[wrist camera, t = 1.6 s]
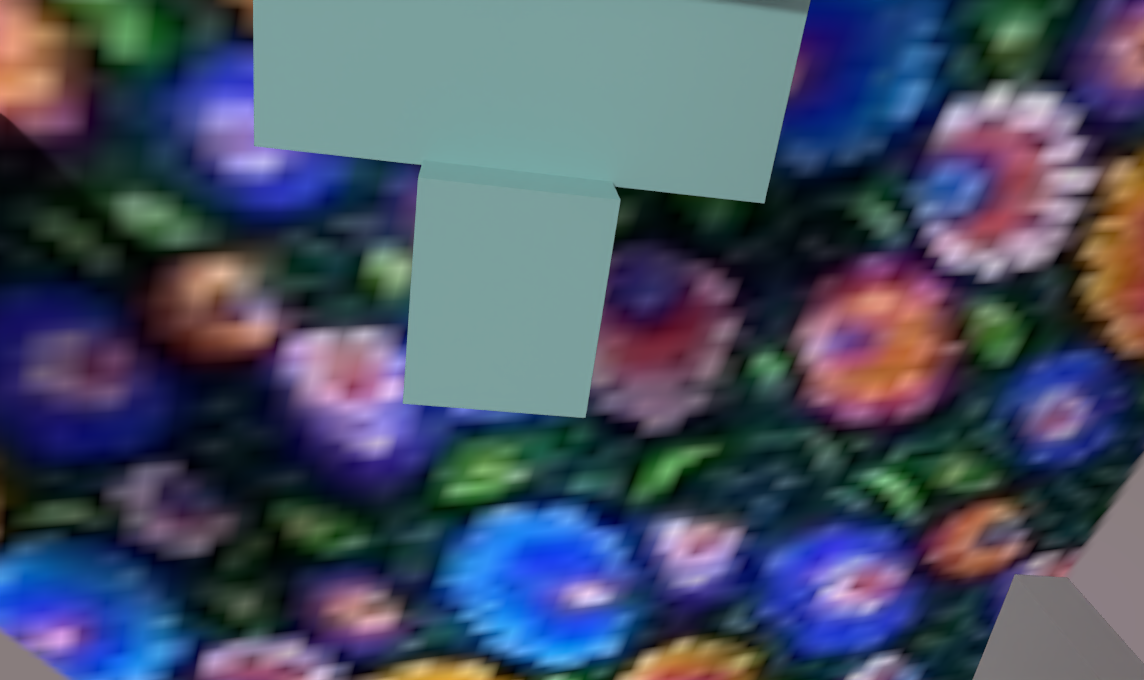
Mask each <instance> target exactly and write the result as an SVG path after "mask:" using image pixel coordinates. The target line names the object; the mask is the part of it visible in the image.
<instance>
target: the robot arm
mask: <svg viewBox="0 0 1144 680" xmlns="http://www.w3.org/2000/svg"><path fill="white" fill-rule="evenodd" d="M973 680H1144V664H1143V662H1142V661H1141V660H1140V659H1139V658H1138V657H1137V656H1136V655H1135V653H1134V652H1133V651H1132V650H1131V649H1130V648H1129V647H1128V646H1127V645H1126V643H1125V642H1124V641H1123V640H1122V639H1121V638H1120V637H1119V635H1118V634H1117V633H1116V632H1115V631H1114V630H1113V629H1112V628H1111V626H1110V625H1109V624H1108V623H1107V622H1106V621H1105V620H1104V618H1103V617H1102V616H1101V615H1100V614H1099V613H1098V612H1097V610H1096V609H1095V608H1094V607H1093V606H1092V605H1091V604H1090V603H1089V602H1088V601H1087V599H1086V598H1085V597H1084V596H1083V595H1082V593H1081V592H1080V591H1079V590H1078V589H1077V588H1076V587H1075V586H1074V585H1073V583H1071V581H1070V580H1069V579H1068V578H1064V577H1049V576H1033V575H1017V574H1015V576H1014V578H1013V581H1012V583H1011V586H1010V588H1009V591H1008V593H1007V596H1006V598H1005V601H1004V603H1003V606H1002V608H1001V611H1000V613H999V615H998V618H997V620H996V623H995V625H994V628H993V630H992V633H991V635H990V638H989V640H988V643H987V645H986V648H985V650H984V653H983V655H982V658H981V660H980V663H979V665H978V668H977V670H976V673H975V675H974V678H973Z"/></svg>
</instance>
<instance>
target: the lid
mask: <svg viewBox="0 0 1144 680" xmlns="http://www.w3.org/2000/svg"><path fill="white" fill-rule="evenodd" d="M809 5H810V0H253V34H254V146H258V147H267V148H276V149H285V150H294V151H303V152H312V153H320V154H329V155H338V156H347V157H356V158H365V159H374V160H383V161H392V162H400V163H409V164H418V165H422V166H421V169H420V173H419V177H418V188H417V203H416V218H415V232H414V247H413V262H412V277H411V292H410V306H409V321H408V336H407V351H406V366H405V380H404V395H403V404H416V405H428V406H441V407H454V408H466V409H479V410H491V411H504V412H517V413H529V414H542V415H554V416H567V417H580V418H586V412H587V405H588V399H589V393H590V387H591V380H592V374H593V368H594V362H595V356H596V349H597V343H598V337H599V331H600V325H601V318H602V312H603V306H604V300H605V293H606V287H607V281H608V275H609V269H610V262H611V256H612V250H613V244H614V237H615V231H616V225H617V219H618V213H619V206H620V198H619V196H618V193H617V191H616V189H615V187H623V188H632V189H641V190H649V191H658V192H667V193H676V194H685V195H694V196H703V197H712V198H721V199H729V200H738V201H747V202H756V203H765V198H766V194H767V189H768V185H769V181H770V176H771V172H772V167H773V163H774V159H775V154H776V150H777V145H778V141H779V137H780V132H781V128H782V123H783V119H784V115H785V110H786V106H787V101H788V97H789V93H790V88H791V84H792V79H793V75H794V71H795V66H796V62H797V57H798V53H799V49H800V44H801V40H802V35H803V31H804V27H805V22H806V18H807V13H808V9H809Z"/></svg>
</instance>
